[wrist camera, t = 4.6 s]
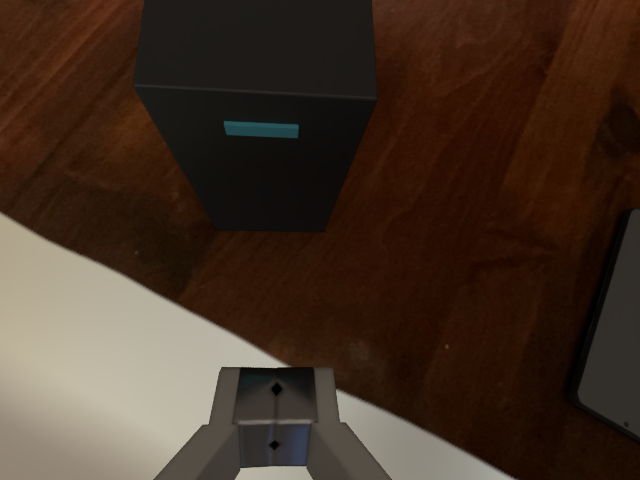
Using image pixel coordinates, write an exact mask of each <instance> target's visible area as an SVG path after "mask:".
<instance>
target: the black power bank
mask: <svg viewBox="0 0 640 480" xmlns="http://www.w3.org/2000/svg"><path fill="white" fill-rule="evenodd" d="M133 87H134V89H135V91H136V93H137V94H138V96H139V98H140V99H141V101H142V103H143V104H144V106H145V108H146V110H147V111H148V113H149V115H150V116H151V118H152V120H153V122H154V123H155V125H156V127H157V128H158V130H159V132H160V133H161V135H162V137H163V139H164V140H165V142H166V144H167V145H168V147H169V149H170V151H171V152H172V154H173V156H174V157H175V159H176V161H177V163H178V164H179V166H180V168H181V169H182V171H183V173H184V174H185V176H186V178H187V180H188V181H189V183H190V185H191V186H192V188H193V190H194V192H195V193H196V195H197V197H198V198H199V200H200V202H201V203H202V205H203V207H204V209H205V210H206V212H207V214H208V215H209V217H210V219H211V221H212V222H213V224H214V226H215V227H216V229H217V230H246V231H302V232H324V230H325V227H326V225H327V222H328V220H329V218H330V215H331V213H332V210H333V208H334V205H335V203H336V200H337V198H338V196H339V193H340V191H341V188H342V186H343V183H344V181H345V178H346V176H347V173H348V171H349V169H350V166H351V164H352V161H353V159H354V156H355V154H356V151H357V149H358V146H359V144H360V142H361V139H362V137H363V134H364V132H365V129H366V127H367V124H368V122H369V119H370V117H371V115H372V112H373V110H374V107H375V105H376V102H377V100H378V94H377V78H376V62H375V46H374V29H373V13H372V0H145V1H144V8H143V15H142V22H141V29H140V36H139V43H138V50H137V57H136V64H135V71H134V78H133Z"/></svg>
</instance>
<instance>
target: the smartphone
mask: <svg viewBox="0 0 640 480" xmlns="http://www.w3.org/2000/svg"><path fill="white" fill-rule="evenodd" d="M568 395H569V398H570V400H571V402H572V403H573V404H574V405H576V406H578V407H580V408H581V409H583V410H585V411H587V412H588V413H590V414H592V415H593V416H595V417H597V418H599V419H600V420H602V421H604V422H606V423H607V424H609V425H611V426H612V427H614V428H616V429H618V430H619V431H621V432H623V433H625V434H626V435H628V436H630V437H632V438H634V439H635V440H637V441H639V442H640V209H638V208H632V209H628V210H627V211H626V212H625V213H624V215H623V218H622V222H621V225H620V228H619V232H618V235H617V238H616V241H615V245H614V248H613V251H612V254H611V258H610V261H609V264H608V267H607V271H606V274H605V277H604V281H603V284H602V287H601V290H600V294H599V297H598V300H597V303H596V307H595V310H594V313H593V317H592V320H591V323H590V326H589V327H588V330H587V333H586V336H585V340H584V343H583V346H582V349H581V353H580V356H579V359H578V363H577V366H576V369H575V372H574V376H573V379H572V382H571V385H570V389H569V393H568Z"/></svg>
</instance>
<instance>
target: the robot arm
mask: <svg viewBox="0 0 640 480" xmlns="http://www.w3.org/2000/svg"><path fill="white" fill-rule="evenodd" d="M267 466H307V470H308V472H309V473H310V475H311V477H312V479H313V480H392V479H391V478H390V477H389V475H388V474H387V473H386V472H385V471H384V469H383V468H382V467H381V466H380V464H379V463H378V462H377V461H376V460H375V458H374V457H373V456H372V455H371V453H370V452H369V451H368V450H367V448H366V447H365V446H364V445H363V443H362V442H361V441H360V440H359V439H358V437H357V436H356V435H355V434H354V432H353V431H352V430H351V429H350V427H349V426H348V425H347V424H346V423H341V422H340V419H339V411H338V404H337V396H336V388H335V381H334V373H333V369H332V368H331V367H314V368H313V367H282V368H251V367H222V368H221V370H220V372H219V376H218V381H217V386H216V392H215V396H214V401H213V406H212V411H211V416H210V420H209V424H208V425H202V426H201V427H200V428H199V430H198V431H197V432H196V433H195V434H194V435H193V436H192V437H191V438H190V440H189V441H188V442H187V443H186V444H185V445H184V446H183V448H181V450H180V451H179V452H178V453H177V454H176V455H175V456H174V457H173V458H172V460H171V461H170V462H169V463H168V464H167V465H166V466H165V467H164V468H163V470H162V471H161V472H160V473H159V474H158V475H157V476H156V477H155V479H154V480H235V478H236V476H237V475H238V473H239V471H240V468H249V467H267Z"/></svg>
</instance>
